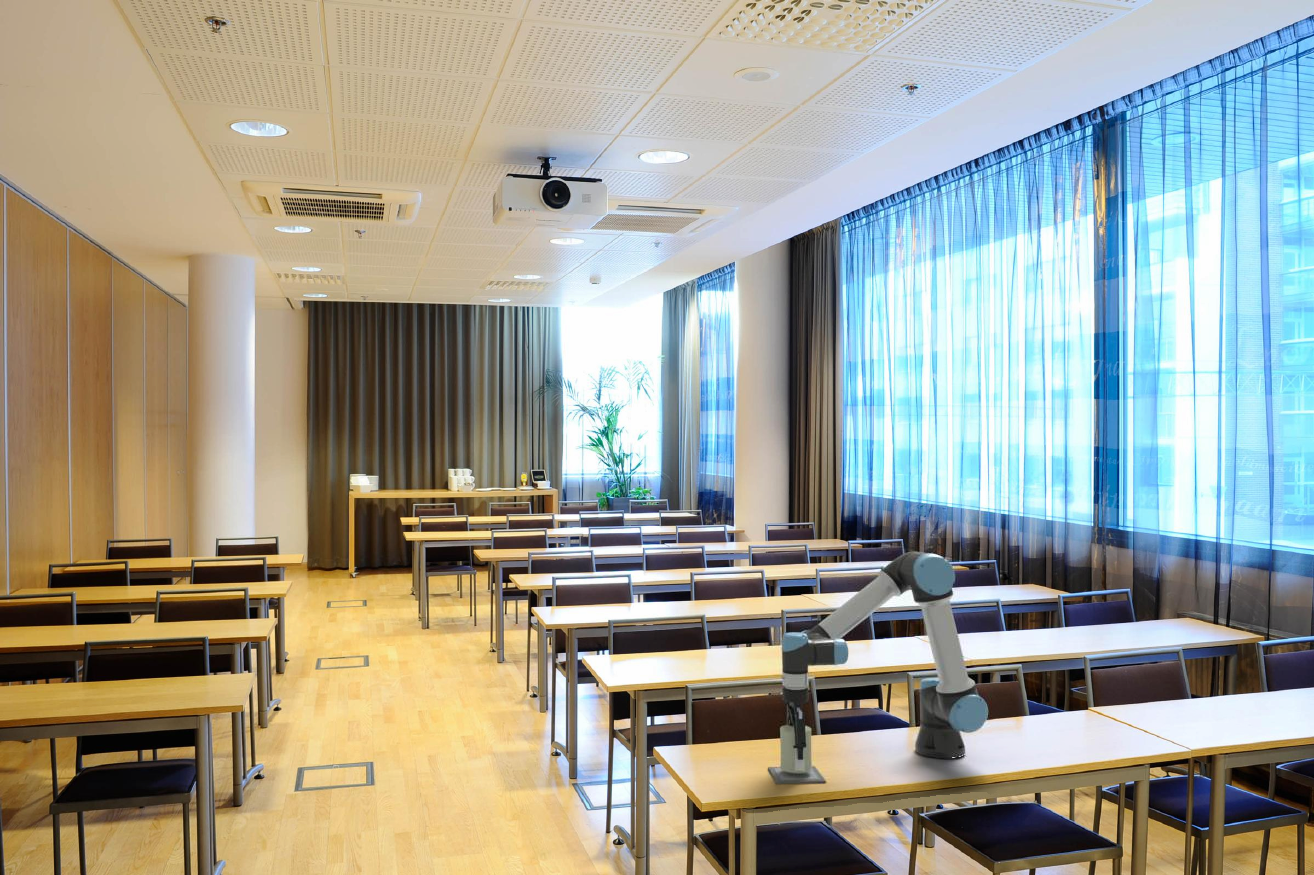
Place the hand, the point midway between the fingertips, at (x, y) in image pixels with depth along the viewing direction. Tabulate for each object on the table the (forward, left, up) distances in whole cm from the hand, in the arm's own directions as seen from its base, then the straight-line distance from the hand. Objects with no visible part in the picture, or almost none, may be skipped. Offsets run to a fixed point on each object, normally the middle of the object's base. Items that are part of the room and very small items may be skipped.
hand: (796, 765), depth 273 cm
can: (0, 0, -1) cm, 1 cm away
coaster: (0, 0, -3) cm, 3 cm away
